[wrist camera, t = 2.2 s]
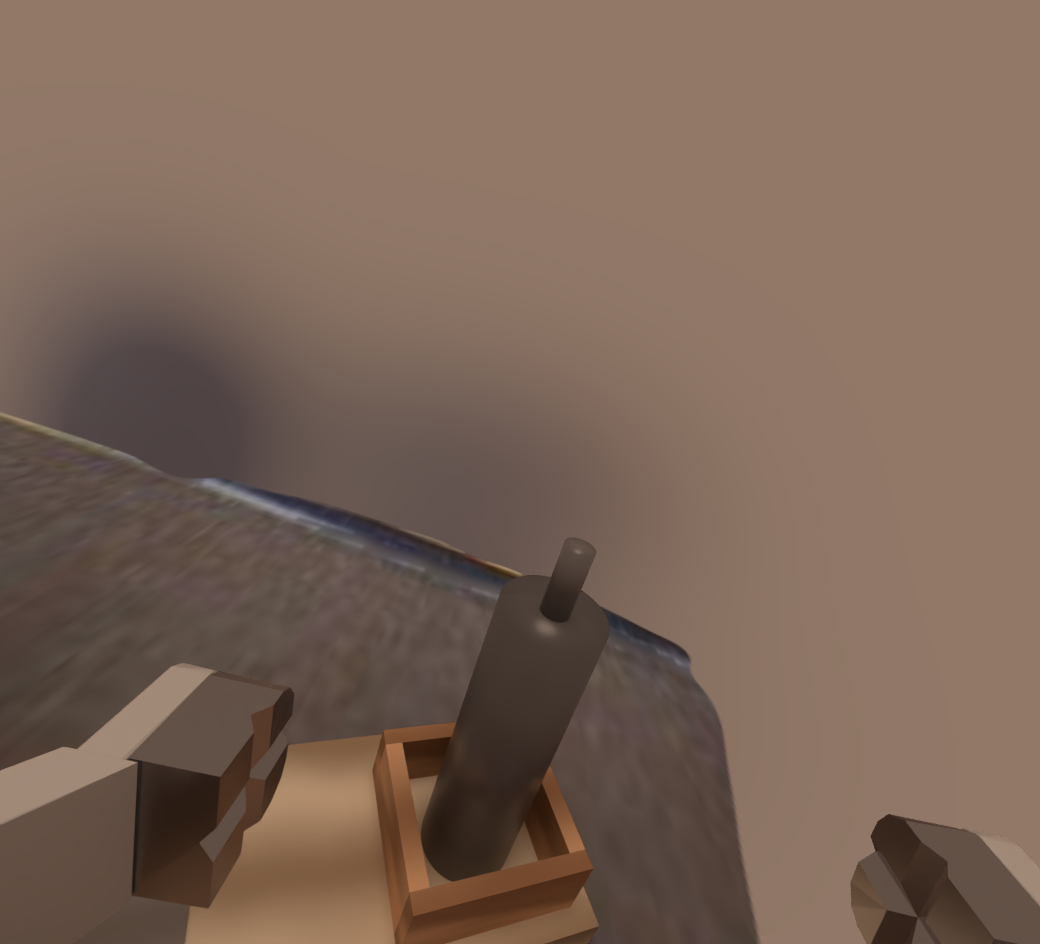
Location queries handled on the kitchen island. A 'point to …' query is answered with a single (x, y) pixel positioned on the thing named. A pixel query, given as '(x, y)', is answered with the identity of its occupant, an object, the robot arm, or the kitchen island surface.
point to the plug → (514, 715)
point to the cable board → (375, 863)
